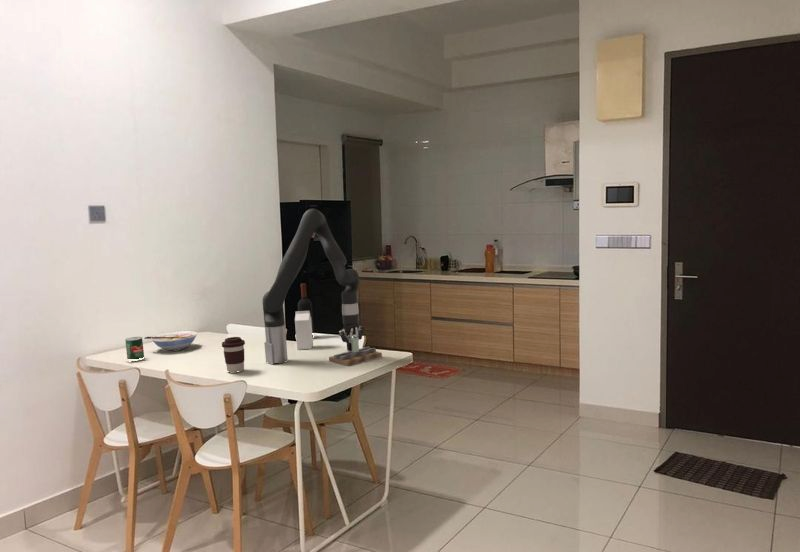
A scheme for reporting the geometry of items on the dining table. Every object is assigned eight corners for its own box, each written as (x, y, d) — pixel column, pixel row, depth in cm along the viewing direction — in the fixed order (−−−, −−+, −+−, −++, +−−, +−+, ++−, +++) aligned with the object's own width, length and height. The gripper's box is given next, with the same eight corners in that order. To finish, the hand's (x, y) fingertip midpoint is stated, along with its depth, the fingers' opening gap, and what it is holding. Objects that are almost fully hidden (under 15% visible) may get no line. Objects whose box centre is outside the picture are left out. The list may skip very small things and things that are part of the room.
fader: (354, 356, 288) (353, 339, 287) (347, 354, 292) (346, 338, 291) (359, 355, 290) (358, 338, 289) (352, 353, 294) (351, 337, 293)
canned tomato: (138, 362, 311) (135, 340, 310) (124, 362, 313) (121, 340, 311) (147, 358, 319) (145, 336, 318) (133, 358, 320) (131, 336, 319)
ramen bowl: (208, 344, 343) (207, 329, 342) (184, 354, 321) (182, 339, 320) (168, 344, 350) (166, 329, 349) (141, 354, 328) (140, 339, 327)
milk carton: (311, 349, 317) (308, 312, 315) (297, 350, 318) (294, 312, 315) (313, 346, 325) (310, 309, 322) (299, 346, 325) (296, 310, 322)
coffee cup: (238, 367, 289) (235, 335, 288) (251, 370, 283) (248, 337, 281) (219, 372, 282) (216, 339, 280) (233, 375, 275) (230, 341, 274)
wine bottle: (301, 340, 340) (296, 285, 336) (299, 337, 347) (295, 283, 344) (315, 338, 342) (311, 283, 338) (313, 336, 349) (309, 282, 346)
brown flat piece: (347, 366, 280) (347, 358, 280) (329, 361, 291) (328, 353, 290) (381, 356, 294) (381, 349, 293) (362, 352, 304) (362, 345, 304)
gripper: (357, 309, 296) (359, 345, 298) (333, 314, 287) (335, 351, 289) (367, 311, 291) (369, 348, 293) (343, 316, 281) (345, 354, 283)
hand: (352, 349), depth 291 cm, fingers closed on fader, 3 cm apart
